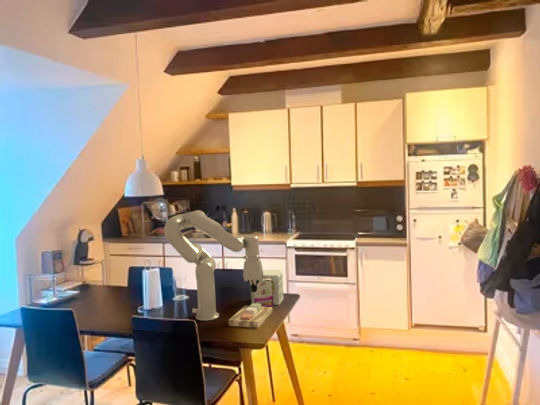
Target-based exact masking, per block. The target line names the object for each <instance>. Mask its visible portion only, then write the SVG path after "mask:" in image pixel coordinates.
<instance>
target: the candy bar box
mask: <svg viewBox="0 0 540 405" xmlns="http://www.w3.org/2000/svg"><path fill="white" fill-rule="evenodd" d="M253 281H254V280H253ZM253 303H258V304H261V307H272V308H274V305H273V288H272V279H270V278H265V279H263V281H262V282H259V283H258V284H257V291H256V292H255V293H254V292H253Z"/></svg>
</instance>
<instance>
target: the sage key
mask: <svg viewBox="0 0 540 405" xmlns="http://www.w3.org/2000/svg"><path fill="white" fill-rule="evenodd" d="M249 306H250V307H255V308H257V311H260V310H261V304H258V303H252V304H251V303H250V305H249Z"/></svg>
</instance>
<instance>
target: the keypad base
mask: <svg viewBox="0 0 540 405" xmlns="http://www.w3.org/2000/svg"><path fill="white" fill-rule="evenodd" d="M248 307H250V305H244V306H243V307H242V308H241V309H239V310H238V311H237V312H236V313H235V314H233V315H232V316H231V317H230V318H229V319H228V326H230V327H245V328H255V329H257V328H258V329H259V328H260V326H261V325H263V323H264V322H265V321H266V320H267V319H268V318H269V317H270V316H271V315H272V314H273V307H261V310H260V311H257V314H256V315H255V316H254V315H253V318H252V319H251V320H243V319H240V316H241V315H243V314H244V313H245V310H246V309H247V308H248Z"/></svg>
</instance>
